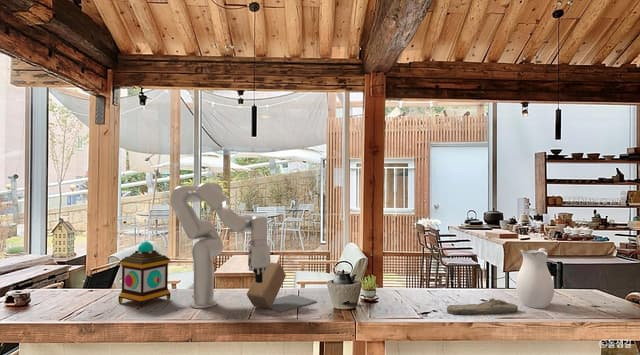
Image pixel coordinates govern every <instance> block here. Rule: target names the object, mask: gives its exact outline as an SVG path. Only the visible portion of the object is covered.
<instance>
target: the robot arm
mask: <svg viewBox="0 0 640 355" xmlns="http://www.w3.org/2000/svg"><path fill="white" fill-rule="evenodd" d="M223 192H224V190H223V187H222V186H221V185H220V183H217V182H210V181H209V182H207V181H206V182H202V183H200V184H196V185H190V184H189V185H188V184H184V185H179V186H176V187H175V188H174V189H173V190H172V191H171V193H170V198H169V201H170V206H171V209H172V211H173V212H174V214H175V216H176V217H177V219H178V221H179V223H180V225H181V227H182V229H183V232H184V233H185V235H186V236H187V238H188V239H189V240H193V241H194V240H198V241H196V242H195V243H194V244H193V245H192V249H191V254H192V260H193V294H192V295H191V298H192V299H193V300H191V301H190V303H189V306H190V307H191V308H195V309H207V308H212V307H215V306H216V305H217V304H218V301H217V300H216V299H215V298H214V297H215V295H214V294H215V293H214V291H215V264H214V261H213V258H214V257H217V256H219V255H220V254H221V253H222V252H223V250H224V243H223V240H222V239H221V237H220V235H219V233H218V231H217V229H216V228H215V225H214V224H213V222H211V221H210V220H208V219H206V218H203V219H200V218H199V217H198V216H197V213H196V211H195V209H194V208H193V207H192V206H191V205H190V204H189V203H198V202H199V203H200V202H205V203H206V204H207V205H208V206H209V207H210V208H212V209H213V210H214V211H215V212H217V216H218V218H219V219H220V221H221V222H222V224H224V225H225V226H226V227H227V228H229V229H230V230H231V231H233V232H234V233H243V232H249V231H250V241H249V242H248V243H249V245H250V246H249V249H248V254H247V256H248V258H247V267H248V271H250V272H253V274H254V275H255V276H254V279H255V282H257V283H262V274H263V273H264V271H265V269H267V268H269V266H270V262H271V250H270V246H269V244H268V218H267V217H266V215H265V216H263V215H260V216H259V215H256V216H254V215H248V214H246V215H238V214H237V213H236V212H234V210H232V209H231V208H230V203H231V201H230V198H229V197H228V196H226V195H225V194H224V193H223ZM200 239H201V240H200ZM271 263H272V262H271Z"/></svg>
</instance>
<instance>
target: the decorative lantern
mask: <svg viewBox="0 0 640 355" xmlns="http://www.w3.org/2000/svg"><path fill="white" fill-rule="evenodd" d="M170 261H171V258H169V257H168V256H166V255H164V254H161V253H159V252H157V250H156V249H155V250H154V246H153V244H152V243H151V242H149V241H147V240H145V241H143V242H141V243H140V244H139V246H138V248H137V250H135V251H134V252H133V253H132V254H130V255H128V256H125V257H124V258H121V260H120V261H119V263H120V265H121V271H122V272H121V291H120V293H119V295H118V299H117V301H118V304H122V303H123V301H124V300H128V301H133V302H137V303H138V305H139V308H140V309H142V308H143V307H144V303H145V302H148V301H151V300H155V299H156V300H157V299H159V298H162V297H165V298H166V300H167V301H170V299H171V292H170V290H169V289H168V288H169V287H168V284H169V283H168V282H169V280H168V277H169V276H168V275H169V264H170ZM123 299H124V300H123Z"/></svg>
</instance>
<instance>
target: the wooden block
mask: <svg viewBox="0 0 640 355" xmlns="http://www.w3.org/2000/svg"><path fill="white" fill-rule="evenodd" d="M286 278H287V277H286V273H285V271H284V269H283V266H282V264H280V262H270V266H269V268H267V269H265V271H264V273H263V274H262V283H257V282H255V278H254V279H253V280H252V283H251V285H250V287H249V288H248V291H247V292H246V296H247V298H248V299H249V301H250V303H251V305H252V307H256V308H263V309H270V308H271V307H272V305H273V303H274V300H275V298H277V296H278V294H279V292H280V290H281V288H282V285H283V283H284V281H285V279H286ZM270 310H271V309H270Z"/></svg>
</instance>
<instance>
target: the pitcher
mask: <svg viewBox="0 0 640 355" xmlns="http://www.w3.org/2000/svg"><path fill="white" fill-rule="evenodd" d="M519 251H520V253H521V255H522V263H521V266H520V268H519V271H518V273H517V276H516V278H515V292H516V294H517V295H516V296H517V297H518V299H519V301H520V303H521V304H522V305H523V306H524V305H525V306H524V307H527V306H529V307H528V308H531V307H533V308H532V309H546V308H548V307H549V306H550V304H551V302H552V300H553V298H554V293H555V284H554V280H553V278H552V274H551V272H550V270H549V267H548V264H547V261H548V249H546V248H544V247H541V248H540V247H539V249H538V250H534V249H533V250H531V249H530V250H527V251H526V250H523V249H520V250H519Z"/></svg>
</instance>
